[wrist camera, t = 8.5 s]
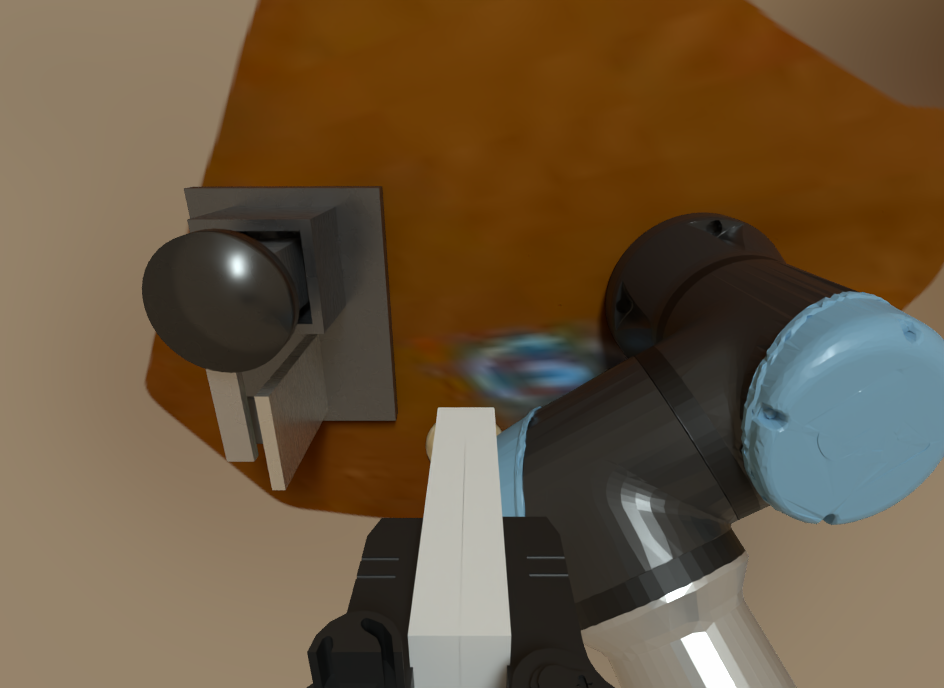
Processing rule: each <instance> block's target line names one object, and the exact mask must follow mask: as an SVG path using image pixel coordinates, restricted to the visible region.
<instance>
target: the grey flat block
mask: <svg viewBox="0 0 944 688" xmlns="http://www.w3.org/2000/svg"><path fill="white" fill-rule="evenodd" d="M247 400H248V405H249V410H250V415H251V420H252V425H253V430H254V435H255V440H256V444H263V439H262V434H261V429H260V424H259V419H258V414H257V408H256V403H255V398H254V396H247Z"/></svg>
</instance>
